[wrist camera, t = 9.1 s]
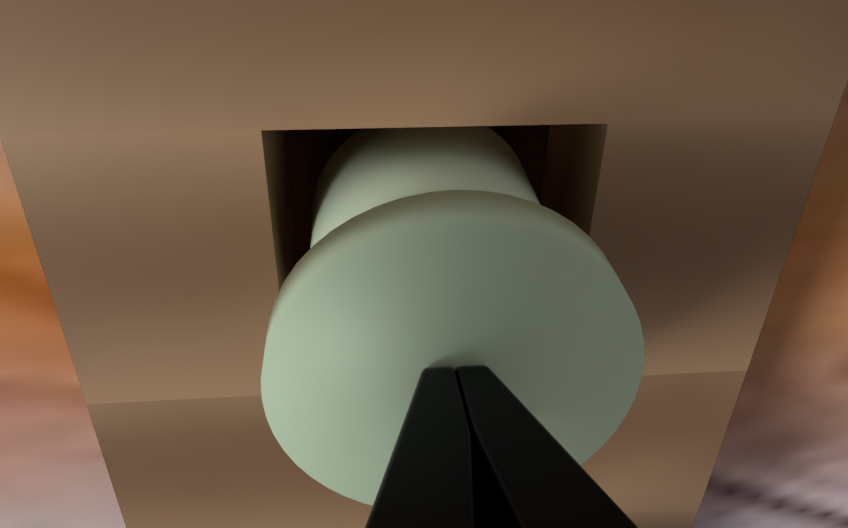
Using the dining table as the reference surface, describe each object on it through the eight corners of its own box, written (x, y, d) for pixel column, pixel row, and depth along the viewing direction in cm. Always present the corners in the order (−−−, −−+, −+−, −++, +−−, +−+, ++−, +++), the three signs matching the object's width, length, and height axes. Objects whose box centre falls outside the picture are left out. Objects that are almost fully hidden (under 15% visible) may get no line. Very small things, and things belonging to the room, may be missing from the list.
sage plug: (540, 315, 15) (611, 501, 11) (296, 325, 15) (279, 524, 11) (572, 78, 12) (681, 216, 8) (272, 83, 12) (237, 230, 8)
